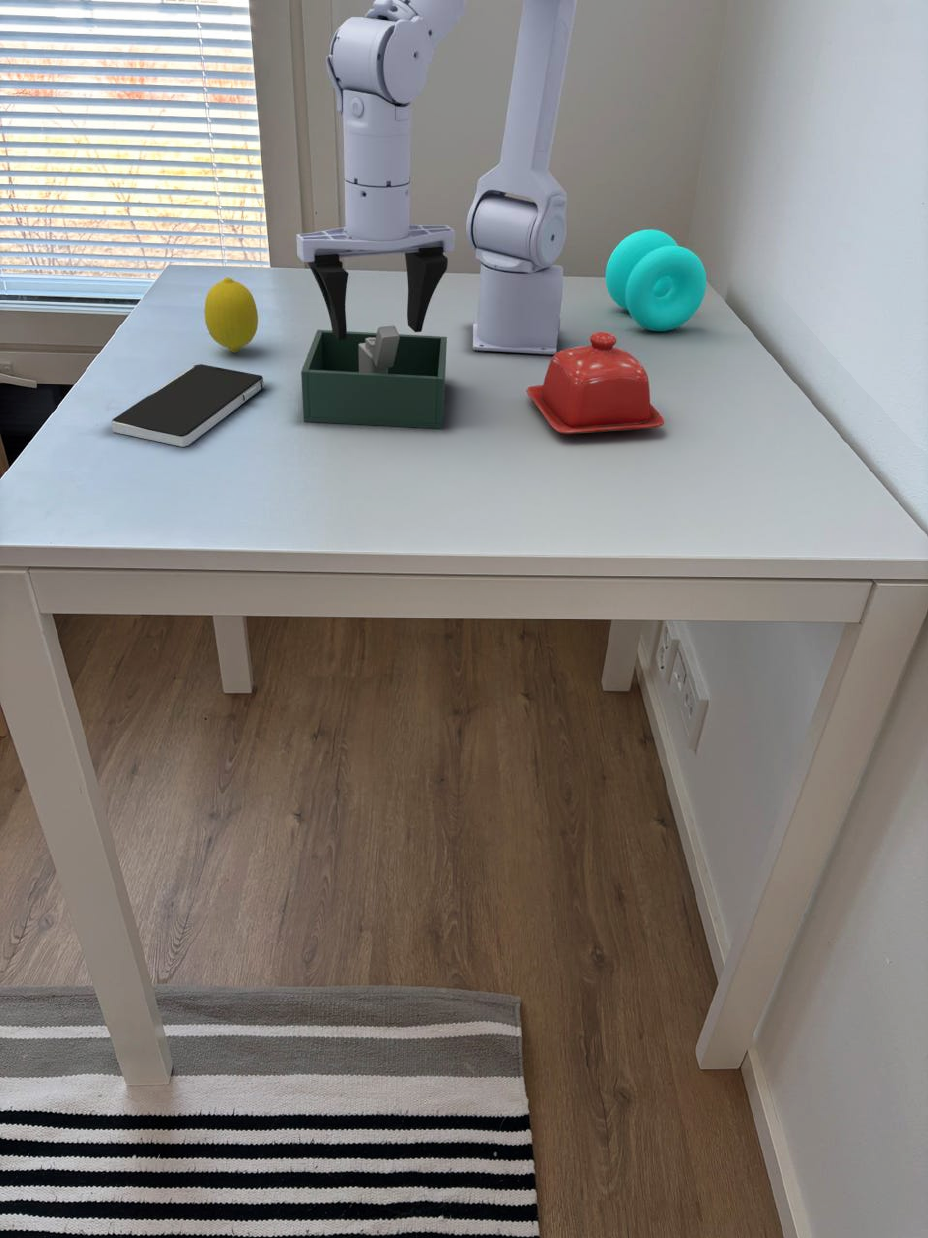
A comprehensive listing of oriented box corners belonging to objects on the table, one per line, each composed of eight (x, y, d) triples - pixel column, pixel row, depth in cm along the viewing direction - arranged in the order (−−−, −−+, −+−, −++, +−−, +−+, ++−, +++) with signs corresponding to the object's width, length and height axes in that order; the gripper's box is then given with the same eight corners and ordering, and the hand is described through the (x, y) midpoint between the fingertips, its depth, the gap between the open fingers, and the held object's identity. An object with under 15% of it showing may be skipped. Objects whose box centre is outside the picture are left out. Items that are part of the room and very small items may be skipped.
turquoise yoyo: (624, 335, 115) (638, 250, 109) (597, 308, 123) (608, 226, 117) (701, 333, 117) (718, 249, 111) (669, 306, 125) (683, 226, 119)
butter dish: (520, 396, 99) (528, 314, 94) (624, 391, 101) (637, 311, 96) (555, 446, 90) (565, 358, 85) (668, 438, 92) (685, 353, 87)
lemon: (249, 364, 102) (242, 288, 97) (200, 357, 103) (191, 282, 98) (268, 346, 106) (263, 273, 102) (220, 340, 107) (213, 267, 102)
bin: (444, 383, 101) (446, 336, 98) (441, 428, 92) (443, 379, 89) (319, 376, 100) (317, 329, 97) (303, 421, 91) (301, 371, 88)
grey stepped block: (358, 384, 98) (357, 306, 93) (374, 382, 98) (374, 304, 94) (382, 412, 93) (382, 331, 88) (399, 410, 93) (400, 329, 89)
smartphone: (107, 420, 87) (196, 362, 98) (109, 433, 88) (197, 373, 99) (185, 437, 85) (266, 376, 96) (187, 449, 86) (267, 387, 97)
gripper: (436, 167, 89) (431, 312, 97) (283, 172, 84) (292, 325, 92) (467, 184, 84) (459, 335, 92) (307, 191, 79) (313, 351, 87)
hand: (377, 332), depth 92 cm, fingers open, 7 cm apart
